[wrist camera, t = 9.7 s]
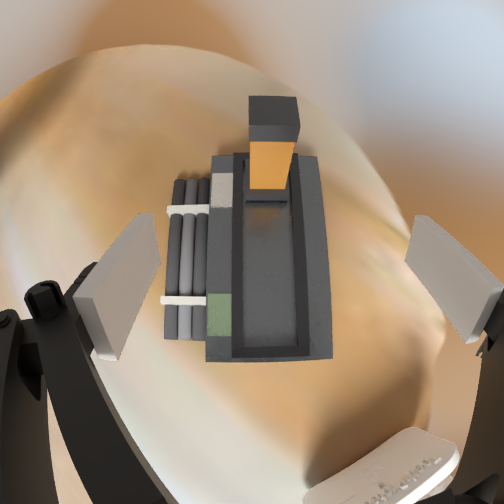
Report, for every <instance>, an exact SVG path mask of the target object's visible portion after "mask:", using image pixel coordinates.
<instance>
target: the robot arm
mask: <svg viewBox="0 0 504 504" xmlns="http://www.w3.org/2000/svg"><path fill="white" fill-rule="evenodd" d="M405 262H406V263H407V265H408V266H409V267H410V268H411V270H412V271H413V272H414V273H415V275H416V276H417V277H418V279H419V280H420V281H421V282H422V284H423V285H424V286H425V288H426V289H427V290H428V292H429V293H430V294H431V296H432V297H433V298H434V300H435V301H436V302H437V304H438V305H439V307H440V308H441V309H442V311H443V312H444V314H445V315H446V316H447V318H448V319H449V321H450V322H451V324H452V325H453V326H454V328H455V329H456V331H457V332H458V334H459V335H460V337H461V338H462V340H463V341H464V343H465V344H467V343H471V342H476V341H478V339H479V337H480V335H481V333H482V331H483V330H484V331H485V332H486V333H487V336H486V338H485V340H484V341H483V343H482V345H481V346H480V348H479V350H478V351H477V354H476V356H478V355H479V353H481V352H483V353H482V356H481V358H482V363H481V371H480V378H479V385H478V391H477V397H476V402H475V407H474V412H473V417H472V422H471V425H470V430H469V433H468V437H467V441H466V445H465V448H464V451H463V455H462V458H461V461H460V464H459V467H458V470H457V473H456V475H455V477H454V479H453V480H452V482H451V483H450V484H449V485H448V486H447V488H446V489H445V490H444V491H443V492H440V493H438V494H436V495H433V496H431V497H428V498H426V499H423V500H421V501H418V502H416V503H414V504H504V285H503V284H502V283H501V282H500V281H499V280H498V279H497V278H496V277H495V276H494V275H493V274H492V273H491V272H490V271H489V270H488V269H487V268H486V267H485V266H484V265H483V264H482V263H481V262H480V261H478V259H477V258H475V257H474V256H473V255H472V254H471V253H470V252H469V251H468V250H467V249H466V248H465V247H463V246H462V245H461V244H460V243H458V241H457V240H455V239H454V238H453V237H452V236H451V235H450V234H448V233H447V232H446V231H445V230H444V229H443V228H441V227H440V226H439V225H438V224H437V223H435V222H434V221H433V220H432V219H430V218H429V217H428V216H424V215H423V216H422V215H415V220H414V225H413V229H412V233H411V238H410V242H409V246H408V250H407V254H406V258H405ZM160 264H161V261H160V255H159V249H158V243H157V236H156V230H155V223H154V215H153V213H138V215H137V216H136V217H135V218H134V219H133V220H132V221H131V223H130V224H129V225H128V226H127V227H126V228H125V230H124V231H123V232H122V233H121V234H120V236H119V237H118V238H117V239H116V240H115V242H114V243H113V244H112V245H111V246H110V248H109V249H108V250H107V251H106V253H105V254H104V255H103V256H102V258H101V259H100V260H99V262H93V263H92V264H90V265H89V266H87V267H86V268H84V270H83V271H82V272H81V273H80V275H79V276H78V278H76V280H75V281H74V284H72V285H71V286H70V288H69V289H68V290H67V292H66V293H65V294H64V296H63V294H62V292H61V289H60V286H59V284H58V283H57V282H55V281H53V280H49V281H43V282H40V283H38V284H36V285H34V286H33V287H31V288H30V289H29V290H28V291H27V293H26V294H25V297H24V300H25V303H26V305H27V307H28V309H29V311H30V313H31V315H32V317H33V319H26V320H21V319H20V318H19V316H18V313H17V312H16V311H15V310H13V309H7V310H4V311H1V312H0V504H59V502H58V497H57V492H56V487H55V481H54V475H53V468H52V461H51V452H50V443H49V430H48V410H47V388H48V392H49V396H50V399H51V403H52V406H53V409H54V413H55V416H56V419H57V422H58V425H59V428H60V430H61V433H62V436H63V439H64V441H65V444H66V446H67V449H68V452H69V454H70V456H71V459H72V461H73V463H74V466H75V468H76V470H77V472H78V475H79V477H80V479H81V481H82V483H83V485H84V487H85V489H86V491H87V493H88V495H89V497H90V499H91V501H92V502H93V504H179V503H178V502H177V501H176V499H175V498H174V497H173V496H172V494H171V493H170V492H169V491H168V489H167V488H166V487H165V485H164V484H163V483H162V481H161V480H160V478H159V477H158V476H157V474H156V473H155V471H154V470H153V469H152V467H151V466H150V464H149V463H148V461H147V460H146V458H145V457H144V455H143V454H142V452H141V451H140V449H139V447H138V446H137V444H136V443H135V441H134V439H133V438H132V436H131V434H130V433H129V431H128V429H127V428H126V426H125V424H124V422H123V421H122V419H121V417H120V415H119V414H118V412H117V410H116V408H115V406H114V404H113V402H112V400H111V398H110V397H109V395H108V393H107V391H106V389H105V386H104V384H103V382H102V380H101V378H100V376H99V374H98V372H97V370H96V367H95V365H94V363H93V361H92V359H91V357H90V354H91V352H92V350H93V348H94V349H95V351H96V353H97V355H98V357H99V359H105V360H112V361H118V360H119V357H120V355H121V352H122V350H123V347H124V345H125V342H126V340H127V338H128V335H129V333H130V330H131V328H132V326H133V323H134V321H135V319H136V316H137V314H138V312H139V309H140V307H141V305H142V303H143V300H144V298H145V296H146V294H147V292H148V289H149V287H150V285H151V283H152V281H153V279H154V276H155V274H156V272H157V270H158V268H159V266H160Z"/></svg>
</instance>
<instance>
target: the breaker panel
mask: <svg viewBox="0 0 504 504" xmlns="http://www.w3.org/2000/svg"><path fill="white" fill-rule="evenodd" d="M245 159H250V153H234V155H227V156H212V165H211V181H210V198H209V218H208V241H207V272H206V362H285V361H305V360H320V359H333V343H332V313H331V292H330V276H329V262H328V250H327V238H326V227H325V218H324V208H323V199H322V191H321V183H320V175H319V168H318V161H317V157H313V156H298V153H293V154H292V159H291V163H290V168H289V172H288V181H289V199H288V201H279V200H246V197H245Z"/></svg>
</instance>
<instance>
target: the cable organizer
mask: <svg viewBox="0 0 504 504" xmlns="http://www.w3.org/2000/svg"><path fill="white" fill-rule="evenodd" d="M459 457H460V455H459V452H458V450H457V447H456V445H455V443H453V442H450V441H448V440H446V439H443V438H441V437H438V436H436V435H434V434H431V433H429V432H427V431H425V430H422V429H420V428H418V427H415V426H413V427H408V428H406V429H404V430H402V431H400V432H398V433H397V434H395V435H394V436H392V437H391V438H390V439H388V440H387V441H386V442H384V443H383V444H381V445H380V446H379V447H377V448H376V449H374V450H373V451H371V452H370V453H369V454H367V455H366V456H364V457H363V458H361V459H360V460H358V461H356V462H355V463H353V464H352V465H350V466H348V467H347V468H345V469H344V470H342V471H340V472H339V473H337V474H335V475H333V476H332V477H330V478H328V479H326V480H325V481H323V482H321V483H319V484H317V485H316V486H314V487H312V488H311V489H310V490H309V491H308V492H306V494H305V495H304V496H303V498H302V501H303V504H414V503H416V502H418V501H421V500H423V499H426V498H428V497H431V496H433V495H436V494H438V493H440V492H443V491H444V490H445V489H446V488H447V486H448V485H449V484H450V483H451V482H452V480H453V479H454V477H452V476H450V475H449V474H450V473H451V472H452V471H453V470H454V468H455V467H456V465H457V464H458V462H459Z"/></svg>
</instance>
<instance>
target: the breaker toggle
mask: <svg viewBox="0 0 504 504" xmlns="http://www.w3.org/2000/svg"><path fill="white" fill-rule="evenodd" d="M299 130H300V120H299V113H298V106H297V99H296V97H285V96H249V142H250V159H245V197H246V200H279V201H288V199H289V181H288V172H289V168H290V163H291V159H292V154H293V150H294V145H295V142H297V139H298V135H299Z"/></svg>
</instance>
